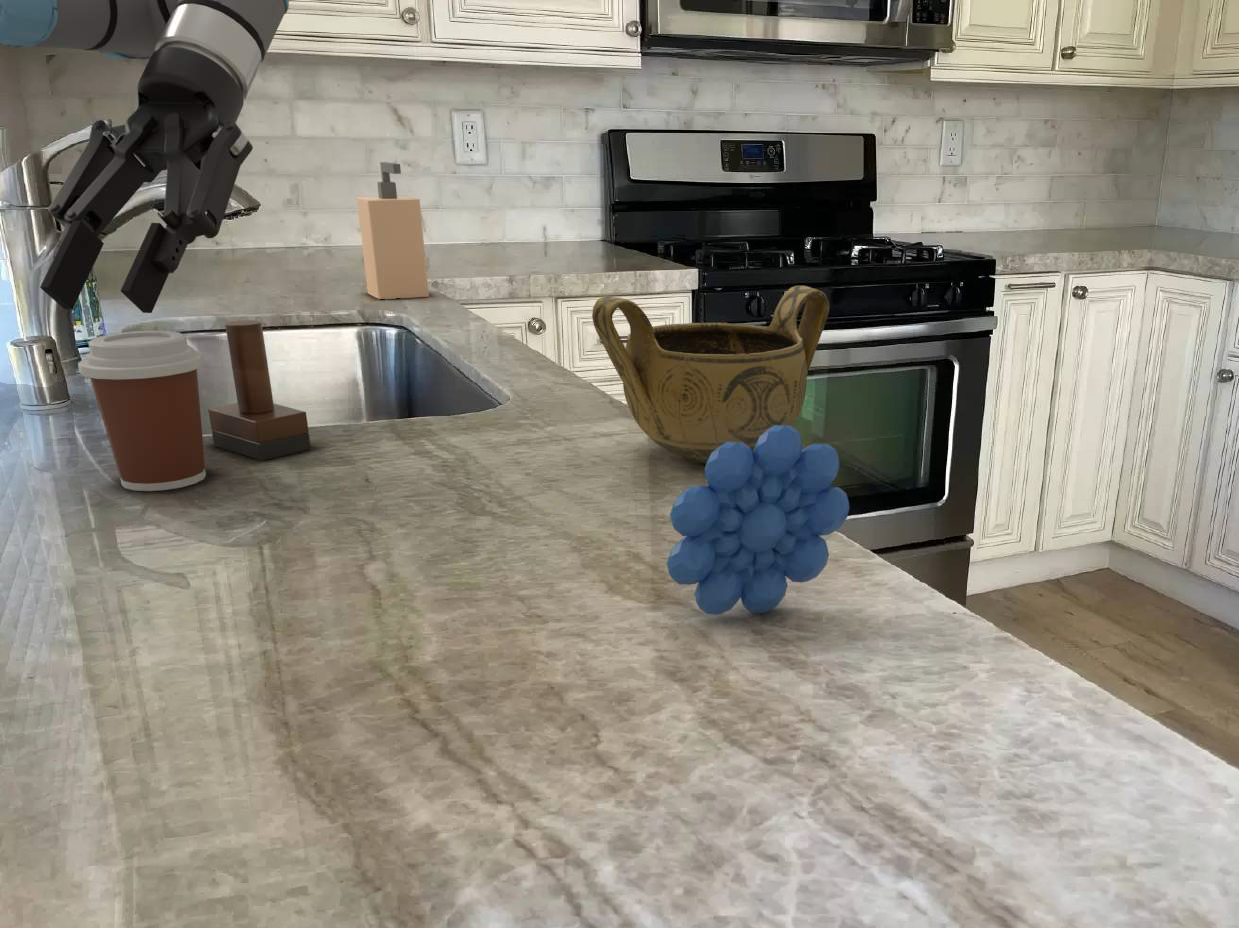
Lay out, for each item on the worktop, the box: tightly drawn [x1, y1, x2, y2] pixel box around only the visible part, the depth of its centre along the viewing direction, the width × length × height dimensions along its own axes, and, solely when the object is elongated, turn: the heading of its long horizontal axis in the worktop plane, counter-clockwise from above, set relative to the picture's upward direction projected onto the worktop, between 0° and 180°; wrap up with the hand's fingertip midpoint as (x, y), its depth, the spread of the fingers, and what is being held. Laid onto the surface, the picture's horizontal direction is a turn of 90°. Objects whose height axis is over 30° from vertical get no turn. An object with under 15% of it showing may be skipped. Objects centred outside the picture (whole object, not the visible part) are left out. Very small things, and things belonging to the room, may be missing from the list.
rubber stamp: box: [207, 319, 312, 462], centre depth 103 cm, size 8×5×12 cm, turn 54°
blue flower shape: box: [666, 425, 851, 616], centre depth 69 cm, size 12×7×12 cm, turn 108°
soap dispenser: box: [356, 161, 430, 300], centre depth 192 cm, size 13×9×22 cm
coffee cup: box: [77, 330, 207, 492], centre depth 93 cm, size 9×9×12 cm
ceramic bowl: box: [591, 285, 830, 465], centre depth 102 cm, size 22×17×15 cm
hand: (96, 299), depth 87 cm, fingers open, 6 cm apart
